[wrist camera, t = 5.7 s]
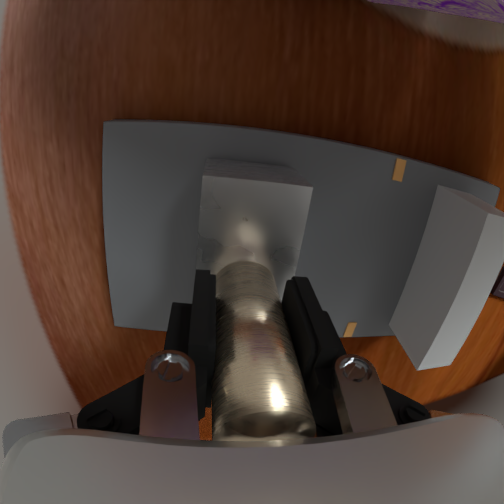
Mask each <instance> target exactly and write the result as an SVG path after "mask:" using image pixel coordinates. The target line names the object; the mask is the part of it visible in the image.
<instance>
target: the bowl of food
mask: <svg viewBox="0 0 504 504" xmlns="http://www.w3.org/2000/svg"><path fill="white" fill-rule="evenodd" d="M367 1H370V2H372V3H381V4H390V5H397V6H404V7H411V8H417V9H423V10H429V11H434V12H440V13H445V14H452V15H458V16H464V17H470V18H476V19H482V20H488V21H493V22H498V23H503V24H504V0H367Z"/></svg>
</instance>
